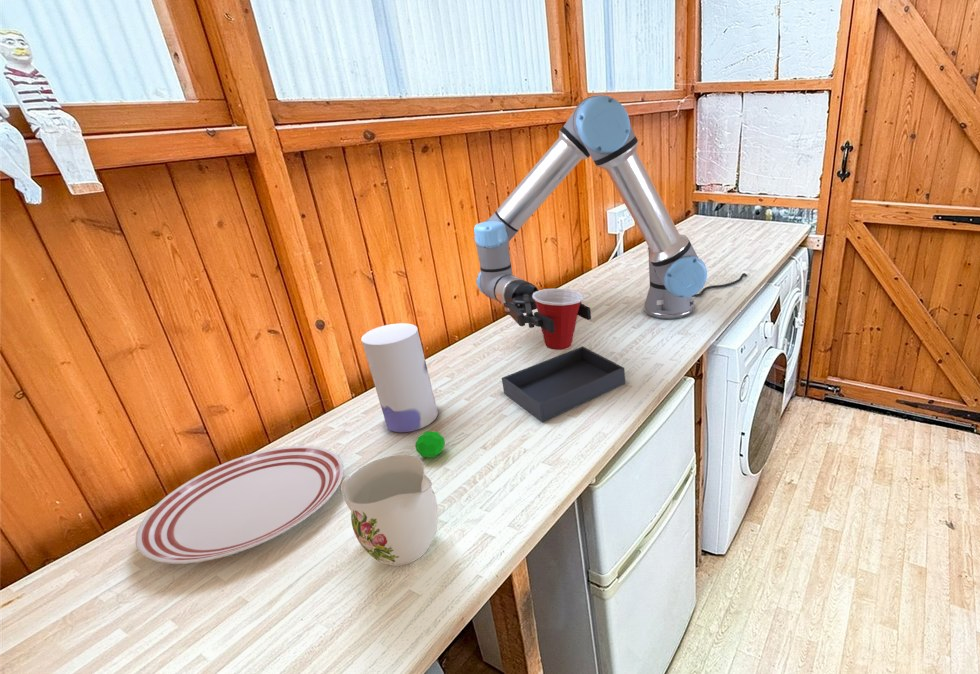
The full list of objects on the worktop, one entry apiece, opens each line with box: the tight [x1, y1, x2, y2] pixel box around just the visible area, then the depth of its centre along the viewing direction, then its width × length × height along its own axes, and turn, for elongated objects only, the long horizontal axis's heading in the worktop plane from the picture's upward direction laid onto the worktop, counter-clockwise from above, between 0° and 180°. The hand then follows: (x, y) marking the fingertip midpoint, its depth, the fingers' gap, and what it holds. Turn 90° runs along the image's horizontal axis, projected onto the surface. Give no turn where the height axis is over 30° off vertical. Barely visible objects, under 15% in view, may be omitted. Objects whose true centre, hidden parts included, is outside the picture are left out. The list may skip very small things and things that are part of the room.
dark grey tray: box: [501, 346, 626, 423], centre depth 117 cm, size 22×16×4 cm
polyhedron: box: [414, 430, 446, 459], centre depth 97 cm, size 5×5×5 cm
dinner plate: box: [135, 445, 345, 565], centre depth 85 cm, size 27×27×3 cm
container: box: [360, 322, 439, 433], centre depth 105 cm, size 10×10×20 cm
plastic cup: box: [532, 287, 584, 351], centre depth 113 cm, size 11×11×12 cm
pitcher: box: [340, 454, 439, 567], centre depth 75 cm, size 11×18×14 cm, turn 68°
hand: (571, 320), depth 109 cm, fingers closed on plastic cup, 9 cm apart
